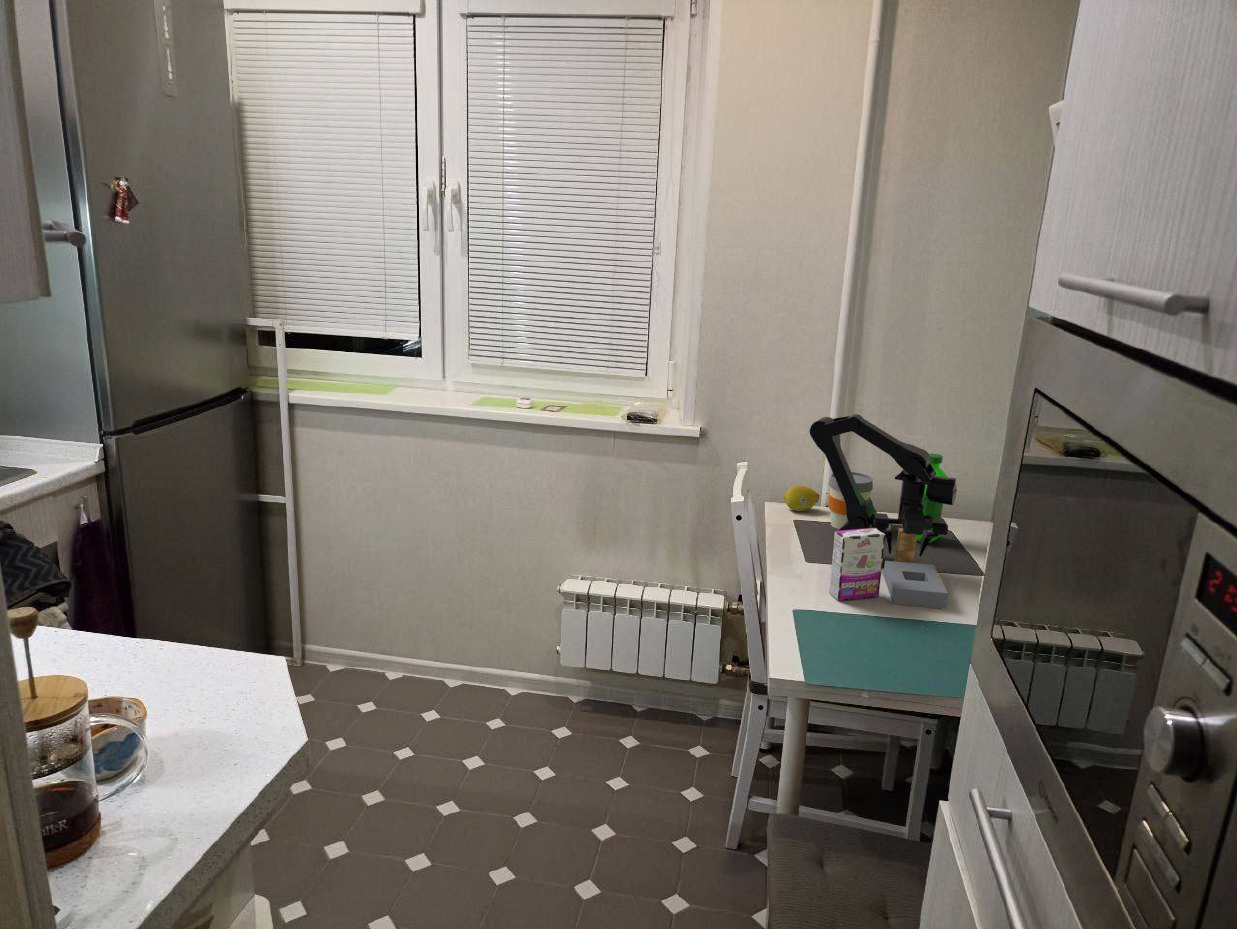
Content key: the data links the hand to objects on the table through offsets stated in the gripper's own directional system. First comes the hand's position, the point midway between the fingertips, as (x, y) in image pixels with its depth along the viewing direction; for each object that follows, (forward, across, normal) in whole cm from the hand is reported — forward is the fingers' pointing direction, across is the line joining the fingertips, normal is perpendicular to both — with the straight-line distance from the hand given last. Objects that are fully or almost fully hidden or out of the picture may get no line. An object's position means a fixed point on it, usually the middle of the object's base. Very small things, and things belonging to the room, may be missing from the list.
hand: (904, 554), depth 236 cm
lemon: (+4, -25, +41) cm, 48 cm away
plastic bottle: (+4, +9, +23) cm, 25 cm away
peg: (+4, 0, 0) cm, 4 cm away
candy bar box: (+4, -15, -22) cm, 27 cm away
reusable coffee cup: (+4, -12, +30) cm, 32 cm away
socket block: (+4, 0, -16) cm, 16 cm away
